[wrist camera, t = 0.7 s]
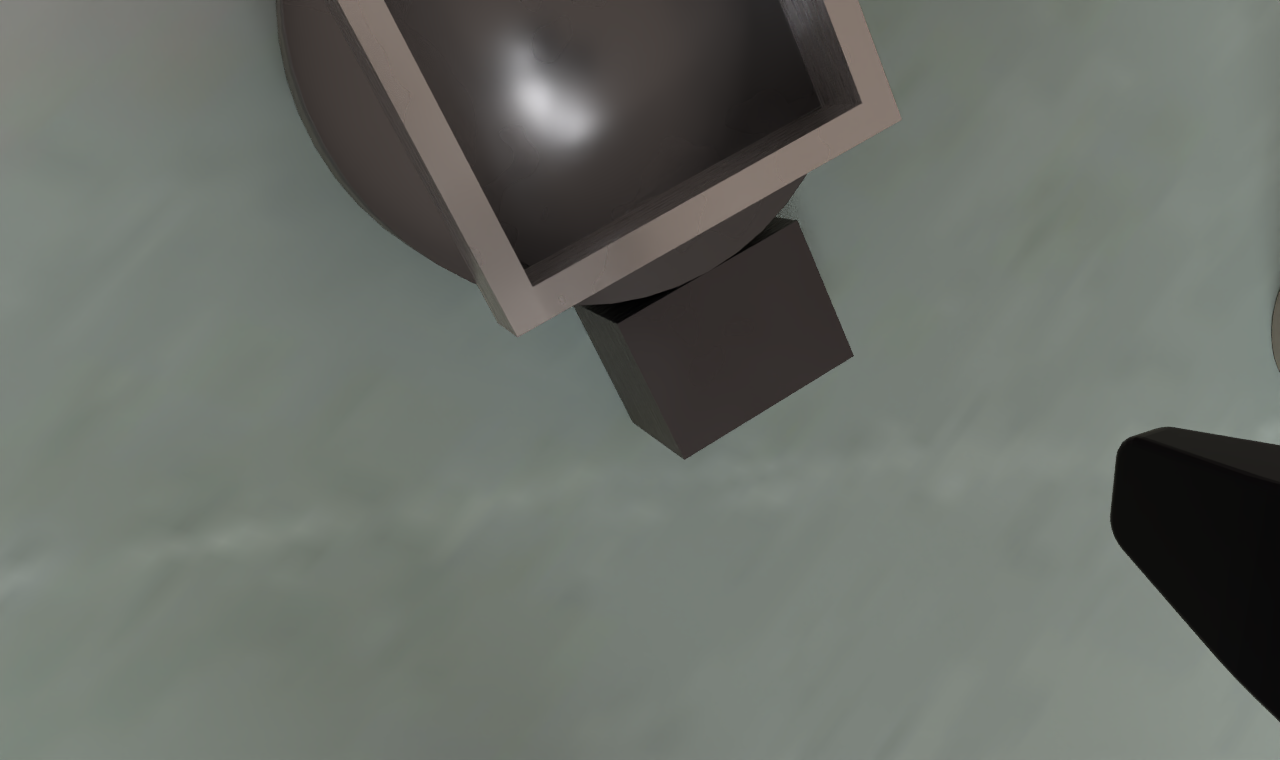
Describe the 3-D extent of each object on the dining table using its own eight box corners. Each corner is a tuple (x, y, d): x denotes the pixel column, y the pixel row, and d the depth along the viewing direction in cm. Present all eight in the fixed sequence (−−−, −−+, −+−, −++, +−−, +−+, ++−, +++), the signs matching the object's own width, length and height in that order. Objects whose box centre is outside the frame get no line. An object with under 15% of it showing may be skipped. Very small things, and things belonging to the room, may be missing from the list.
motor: (892, 266, 25) (1020, 292, 21) (512, 495, 23) (570, 572, 19) (655, -338, 21) (758, -459, 16) (162, -122, 19) (138, -197, 15)
